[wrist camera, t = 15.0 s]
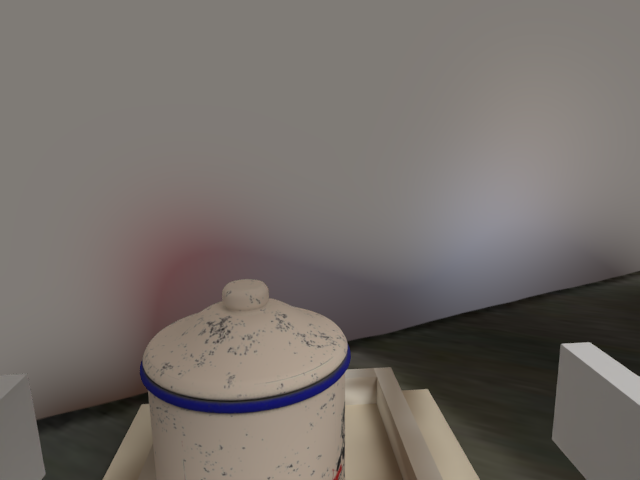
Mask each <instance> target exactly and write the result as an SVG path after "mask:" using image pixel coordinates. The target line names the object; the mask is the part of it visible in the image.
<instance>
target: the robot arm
mask: <svg viewBox="0 0 640 480" xmlns="http://www.w3.org/2000/svg"><path fill="white" fill-rule="evenodd" d="M552 440H553V441H554V442H555V443H556V445H557V446H558V447H559V448H560V449H561V450H562V452H563V453H564V454H565V455H566V456H567V457H568V459H569V460H570V461H571V462H572V463H573V464H574V466H575V467H576V468H577V469H578V470H579V471H580V473H581V474H582V475H583V476H584V477H585V478H586V480H640V377H639V376H637V375H636V374H634V373H633V372H631V371H630V370H629V369H627V368H626V367H624V366H623V365H621V364H620V363H619V362H617V361H616V360H614V359H613V358H611V357H610V356H609V355H607V354H606V353H604V352H603V351H601V350H600V349H599V348H597V347H596V346H594V345H593V344H591V343H590V342H586V343H569V344H561V348H560V358H559V369H558V380H557V391H556V401H555V412H554V423H553V434H552ZM44 475H45V468H44V462H43V457H42V451H41V445H40V440H39V434H38V428H37V423H36V417H35V412H34V406H33V401H32V395H31V389H30V384H29V378H28V374H14V375H0V480H42V478H43V477H44Z"/></svg>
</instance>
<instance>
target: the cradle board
mask: <svg viewBox="0 0 640 480" xmlns="http://www.w3.org/2000/svg"><path fill="white" fill-rule="evenodd" d="M103 480H156V470H155V460H154V449H153V438H152V428H151V417H150V407H149V404H142V405H141V407H140V409H139V411H138V412H137V414H136V416H135V418H134V420H133V422H132V424H131V426H130V428H129V430H128V432H127V434H126V436H125V438H124V440H123V441H122V443H121V445H120V447H119V449H118V451H117V453H116V455H115V457H114V459H113V461H112V463H111V465H110V467H109V469H108V470H107V472H106V474H105V476H104V478H103ZM345 480H479V478H478V476H477V474H476V473H475V471H474V469H473V467H472V466H471V464H470V462H469V460H468V459H467V457H466V455H465V453H464V452H463V450H462V448H461V446H460V445H459V443H458V441H457V439H456V438H455V436H454V434H453V432H452V431H451V429H450V427H449V425H448V424H447V422H446V420H445V418H444V417H443V415H442V413H441V411H440V410H439V408H438V406H437V404H436V403H435V401H434V399H433V397H432V396H431V394H430V392H429V390H428V389H422V390H403V391H401V388H400V386H399V384H398V382H397V380H396V378H395V376H394V373H393V371H392V369H391V367H387V368H367V369H347V370H346V372H345Z"/></svg>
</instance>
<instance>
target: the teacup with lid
mask: <svg viewBox="0 0 640 480" xmlns="http://www.w3.org/2000/svg"><path fill="white" fill-rule="evenodd" d="M222 300H223V301H221V302H218V303H216V304H213V305H211V306H209V307H208V308H206V309H204V310H203V311H201V312H200V313H197V314H194V315H190V316H188V317H185V318H183V319H180V320H178V321H176V322H174V323H172V324H170V325H169V326H167V327H166V328H164V329H163V330H161V331H160V332H159V333H158V334H156V335H155V337H154V338H153V339H152V340H151V341H150V343H149V344H148V346H147V348H146V350H145V352H144V355H143V359H142V362H141V366H140V376H141V380H142V382H143V384H144V386H145V387H146V388H147V389H148V396H149V407H150V417H151V428H152V438H153V449H154V460H155V470H156V480H345V372H346V370H347V368H348V366H349V363H350V358H351V354H350V348H349V345H348V343H347V340H346V337H345V336H344V334H343V332H342V331H341V329H340V328H339V327H338V326H337V325H336V324H335V323H334V322H333V321H331V320H330V319H328V318H326V317H325V316H323V315H320V314H318V313H316V312H313V311H310V310H306V309H302V308H297V307H292V306H290V305H288V304H286V303H284V302H281V301H278V300H275V299H271V298H269V289H268V287H267V286H266V284H265V283H263V282H262V281H259V280H254V279H243V280H236V281H233V282H230V283H228V284H227V285H226V286H225V287H224V289H223V291H222Z"/></svg>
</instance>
